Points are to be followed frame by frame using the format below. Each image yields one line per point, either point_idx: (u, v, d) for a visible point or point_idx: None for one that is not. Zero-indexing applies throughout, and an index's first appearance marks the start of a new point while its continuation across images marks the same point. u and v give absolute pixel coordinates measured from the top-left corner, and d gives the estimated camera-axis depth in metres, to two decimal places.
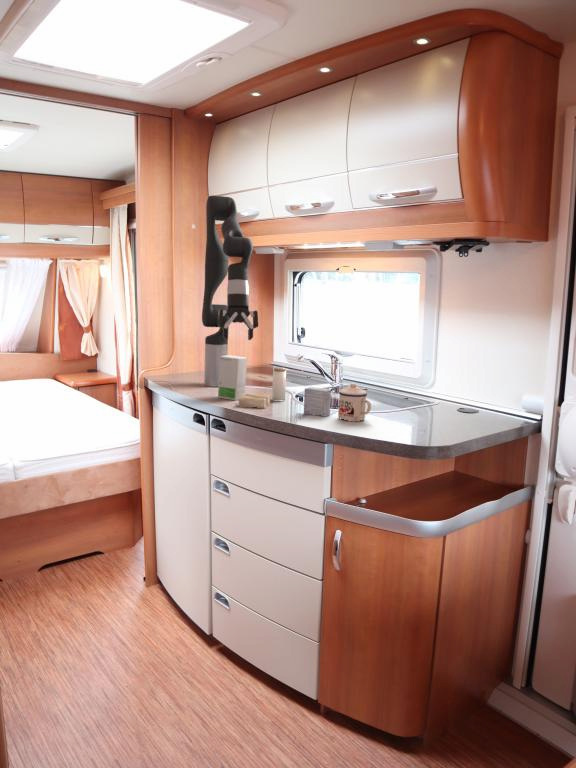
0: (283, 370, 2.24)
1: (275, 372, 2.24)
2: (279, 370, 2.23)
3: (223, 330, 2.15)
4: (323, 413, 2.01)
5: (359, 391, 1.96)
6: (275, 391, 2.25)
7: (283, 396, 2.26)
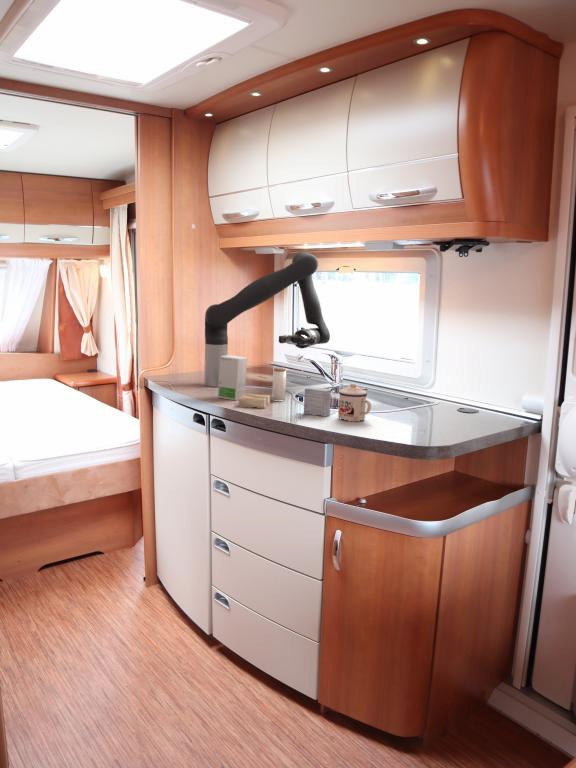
0: (283, 370, 2.24)
1: (275, 372, 2.24)
2: (279, 370, 2.23)
3: (306, 340, 2.35)
4: (323, 413, 2.01)
5: (359, 391, 1.96)
6: (275, 391, 2.25)
7: (283, 396, 2.26)
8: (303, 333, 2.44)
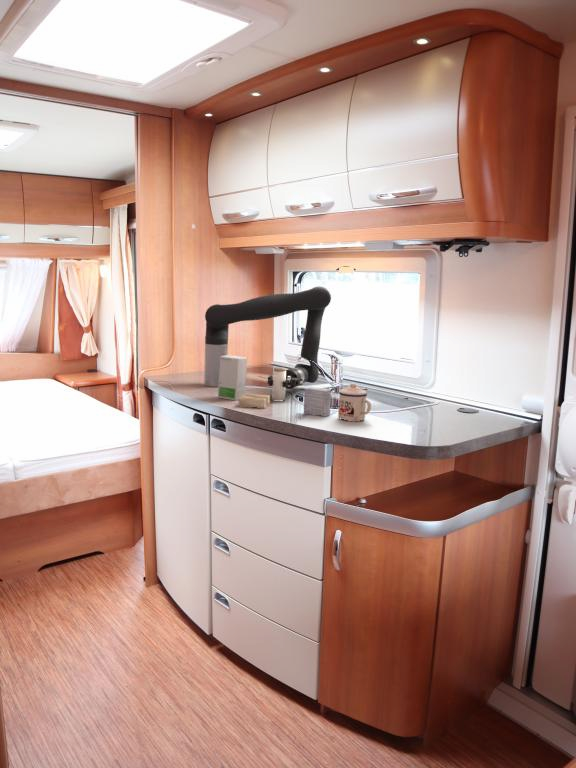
0: (283, 370, 2.24)
1: (275, 372, 2.24)
2: (279, 370, 2.23)
3: (288, 382, 2.25)
4: (323, 413, 2.01)
5: (359, 391, 1.96)
6: (275, 391, 2.25)
7: (283, 396, 2.26)
8: (290, 373, 2.35)
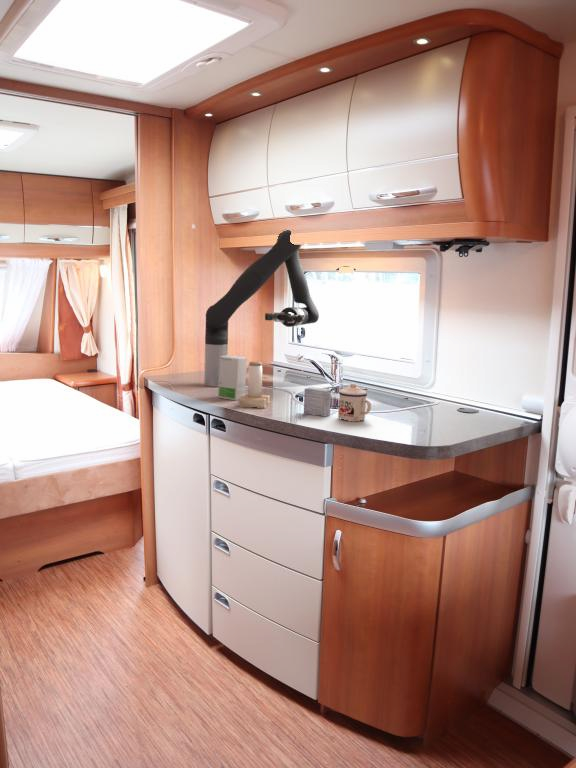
0: (259, 364, 2.12)
1: (250, 367, 2.12)
2: (255, 364, 2.11)
3: (293, 317, 2.28)
4: (323, 413, 2.01)
5: (359, 391, 1.96)
6: (251, 387, 2.13)
7: (260, 392, 2.14)
8: (290, 311, 2.37)
